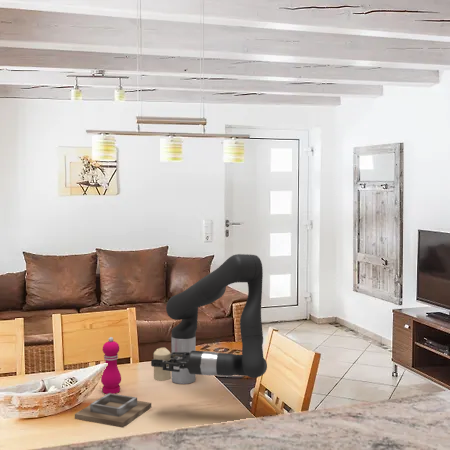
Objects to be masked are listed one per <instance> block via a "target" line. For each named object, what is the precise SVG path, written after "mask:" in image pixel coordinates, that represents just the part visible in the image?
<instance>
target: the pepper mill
mask: <svg viewBox="0 0 450 450" xmlns="http://www.w3.org/2000/svg"><path fill="white" fill-rule="evenodd" d="M107 340H108V341H106V342H105V343H104V344H103V346H102V353H103V354H104V355H103V359H104V360H105V363H108V366H107V367H106V369H105V368H104V369H105V370H104V369H103V371H102V374H103V375H102V374H101V377H100V378H101V379H100V382H101V384H102V393H104V394H105V395H107V394H108V393H111V394H119V393H120V391H121V385H120V384H121V382H122V374H121V372H120V369H119V368H118V367H119V366H118V358H119V354H118V353H119V352H120V345H119V343H118V342H117V341H114V337H112V336H110V337H108V339H107Z"/></svg>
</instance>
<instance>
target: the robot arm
mask: <svg viewBox="0 0 450 450" xmlns="http://www.w3.org/2000/svg"><path fill="white" fill-rule="evenodd" d="M263 270H264V269H263V263H262V260H261V258H260V257H259V256H258V255H256V254H248V253H247V254H245V253H243V254H242V253H238V254H232V255H231V256H230V257H228V258H227V259H226V260H225V261H224V262H223V263H221V265H219V266H218V267H217V268H216V269H214V270H213V271H211V272H210V273H209V274H207V275H205V276H204V277H202V278H200V279H199V280H198V281H196V282H195V283H193V284H192V285H191V286H190V287H188V288H187V289H185V290H184V291H182V292H179V293H177V294H174V295H172V296H171V297H170V298H169V299H168V300H167V302H166V305H165V307H166V308H165V311H166V314H167V316H168V317H169V318H170V319H172V320H175V321H179V320H181V321H180V322H179V323H178V324H177V325H176V326H175V327H173V328H171V358H170V359H169V360H158V359H154V358H153V359H151V362H150V364H151V367H153V368H154V367H162V368H163V370H167V371H171V381H172V383H174V384H181V385H186V384H191V383H194V382H196V378H197V377H196V375H197V376H198V375H199V376H222V377H223V376H226V377H229V376H243V377H249V378H251V379H256V378H260V377H262V376H263V375H265V373H266V371H267V369H268V363H267V360H266V359H265V358H264V350H263V344H264V331H263V325H262V324H263V323H262V298H263V297H262V296H263V295H262V294H263V277H264V276H263V273H264V271H263ZM235 283H247V288H248V294H247V299H246V302H245V305H244V307H243V310H242V311H241V315H240V318H239V319H240V320H239V328H240V339H241V345H242V346H241V347H242V348H241V354H234V353H227V352H215V351H208V350H207V351H206V350H204V351H203V350H197V349H196V342H197V341H196V336H197V335H196V332H197V329H198V318H199V308H202V307H204V306H207V305H210V304H212V303H214V302H216V301H217V300H219V299H220V298H222V297H223V295H225V293H226V291H227V290H226V289H227V286H229V285H233V284H235ZM166 364H167V365H169V366H166Z"/></svg>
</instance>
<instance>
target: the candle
mask: <svg viewBox="0 0 450 450" xmlns="http://www.w3.org/2000/svg"><path fill="white" fill-rule="evenodd" d="M170 351H171V350H169V349H167V348H166V347H159V348H157V349H156V350H154V352H153V359H158V360H169V359H170V358H171V354H172V352H170ZM166 366H169V365H167V364H166ZM171 379H172V371H167V370H163V368H162V367H153V380H155V381H157V382H165V381H169V380H171Z"/></svg>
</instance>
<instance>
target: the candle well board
mask: <svg viewBox="0 0 450 450" xmlns="http://www.w3.org/2000/svg"><path fill="white" fill-rule="evenodd" d="M151 408H152V402H148V401H141V400H138V397H135V396H129V395H125V394H124V395H123V394H118V393H115V394H111V393H108V394H105V395H103V396H102V397H100V398H98V399H96V400H95V401H93V402H92V403H90V404H89V405H88V406H86V407H84V408H82V409H81V410H79V411H77V412H76V413H74V419H75V420H82V421H86V422H91V421H92V422H93V423H97V424H103V425H110V426H115V427H120V428H125V427H126V426H127V425H129V424H130V423H131V422H133V421H134V420H135V419H137V418H138V417H139V416H141V415H142V414H144V413H145V412H147V411H148V410H150V409H151Z"/></svg>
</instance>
